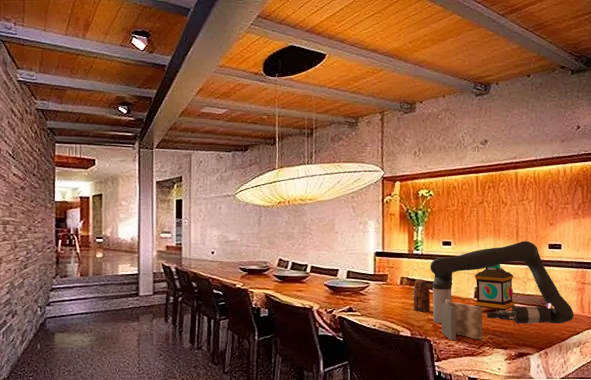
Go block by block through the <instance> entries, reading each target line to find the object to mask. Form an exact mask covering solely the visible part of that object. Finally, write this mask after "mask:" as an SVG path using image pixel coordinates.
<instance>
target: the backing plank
mask: <svg viewBox="0 0 591 380" xmlns="http://www.w3.org/2000/svg"><path fill="white" fill-rule="evenodd" d="M449 302H452V299H451V300H446V303H441V322H442V323H441V333H442V335H444V336H446V337H447V338H448V339H449V340H450V341H457V334H456V319H455V308H454V307H452V306H451V305H449Z"/></svg>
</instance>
